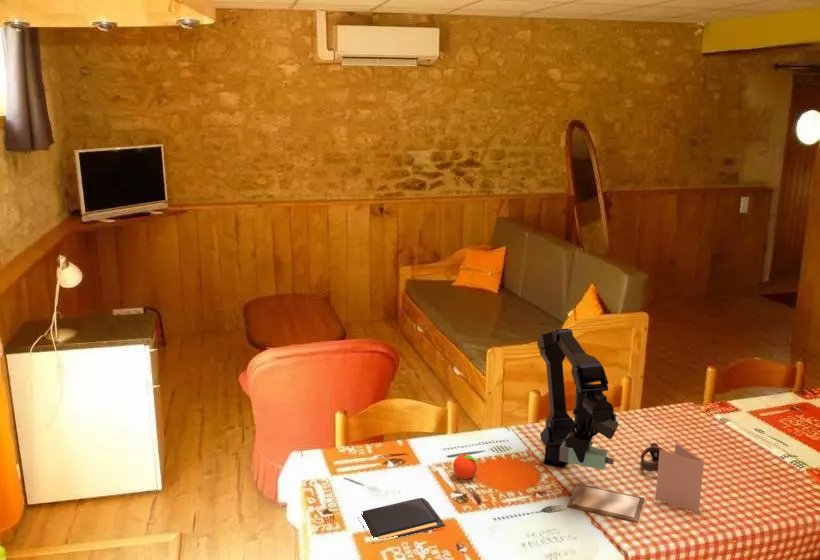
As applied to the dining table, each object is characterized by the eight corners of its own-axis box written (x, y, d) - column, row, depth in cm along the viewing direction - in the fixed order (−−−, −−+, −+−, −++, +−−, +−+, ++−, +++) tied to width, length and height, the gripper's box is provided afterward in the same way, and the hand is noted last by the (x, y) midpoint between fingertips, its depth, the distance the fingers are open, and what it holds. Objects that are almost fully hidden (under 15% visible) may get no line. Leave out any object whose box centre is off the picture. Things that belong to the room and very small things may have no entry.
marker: (559, 460, 195) (559, 447, 194) (563, 454, 199) (563, 440, 198) (611, 471, 189) (612, 457, 188) (614, 464, 193) (615, 451, 192)
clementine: (483, 475, 208) (484, 452, 206) (475, 486, 201) (475, 463, 200) (458, 469, 211) (458, 447, 209) (449, 480, 205) (449, 458, 203)
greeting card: (701, 513, 187) (706, 461, 183) (677, 518, 185) (681, 466, 181) (674, 491, 197) (678, 442, 194) (650, 496, 195) (654, 446, 192)
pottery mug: (682, 479, 205) (672, 460, 201) (650, 490, 207) (640, 471, 204) (670, 450, 215) (661, 431, 212) (640, 461, 218) (630, 442, 214)
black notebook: (424, 493, 196) (446, 522, 182) (425, 499, 196) (446, 529, 182) (354, 508, 189) (371, 540, 175) (354, 514, 190) (371, 546, 176)
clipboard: (567, 506, 191) (567, 502, 190) (577, 485, 201) (577, 481, 201) (637, 522, 183) (637, 518, 183) (644, 499, 194) (644, 495, 193)
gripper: (609, 425, 179) (606, 481, 183) (623, 397, 195) (619, 449, 199) (565, 417, 183) (563, 472, 187) (582, 390, 200) (579, 441, 204)
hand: (583, 458), depth 194 cm, fingers closed on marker, 4 cm apart
